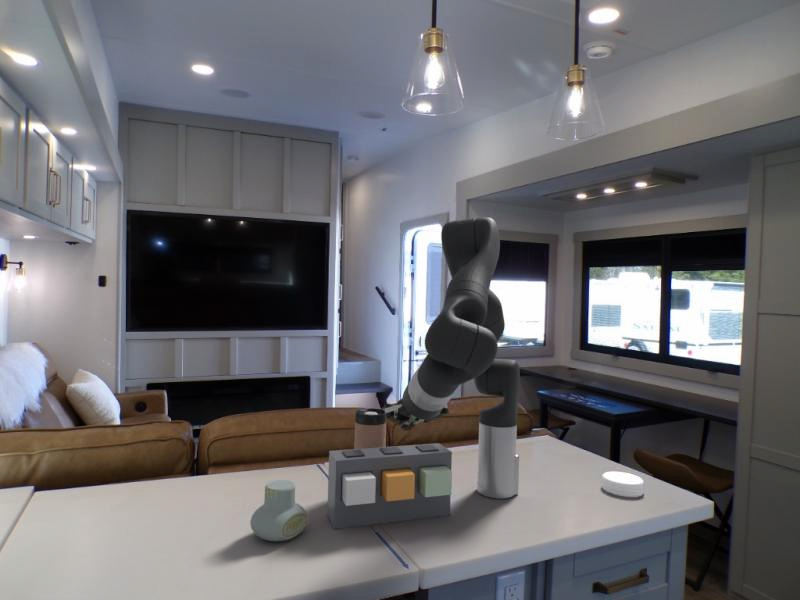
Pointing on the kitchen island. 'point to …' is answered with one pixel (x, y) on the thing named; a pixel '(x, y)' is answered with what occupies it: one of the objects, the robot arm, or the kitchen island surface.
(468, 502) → the kitchen island surface
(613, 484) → the white round disc
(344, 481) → the block
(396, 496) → the block
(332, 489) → the grey switch box
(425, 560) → the kitchen island surface
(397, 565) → the kitchen island surface
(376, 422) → the travel mug
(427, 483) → the block
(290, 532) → the air freshener
